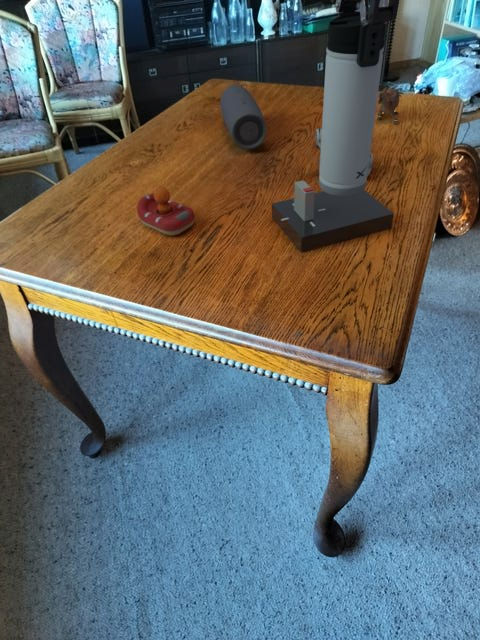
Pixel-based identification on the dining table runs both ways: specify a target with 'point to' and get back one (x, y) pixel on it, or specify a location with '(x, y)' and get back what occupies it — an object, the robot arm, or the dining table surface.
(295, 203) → the grey rectangular block
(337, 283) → the dining table surface
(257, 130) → the bluetooth speaker
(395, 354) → the dining table surface
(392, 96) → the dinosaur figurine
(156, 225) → the toy boat
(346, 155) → the travel mug
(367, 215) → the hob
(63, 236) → the dining table surface
